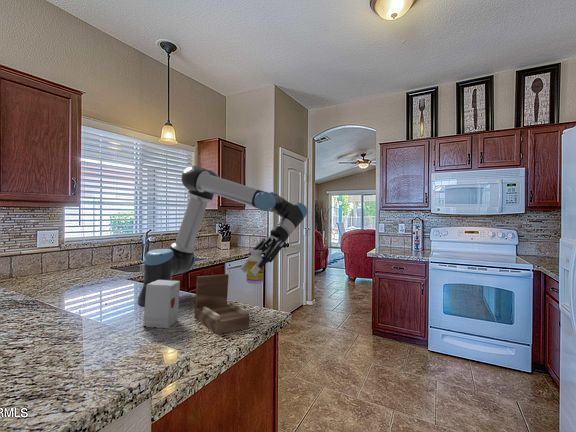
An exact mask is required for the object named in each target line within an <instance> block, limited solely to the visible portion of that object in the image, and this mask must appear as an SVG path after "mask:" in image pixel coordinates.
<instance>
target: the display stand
mask: <svg viewBox="0 0 576 432" xmlns="http://www.w3.org/2000/svg"><path fill="white" fill-rule="evenodd" d="M195 285H196V288H195V301H194V302H195V303H194V316H193V318H194V319H196V320H198V322H200V323H201V324H202V325H204V326H205V327H206V328H208V329H209V330H210V331H211V332H212V333H215V334H216V335H219V334H223V333H227V332H232V331H233V332H234V331H237V330H241V329H247V328H250V320H251V318H250V315H249V310H248V309H247V308H246V309H245V308H244V307H242V306H241V305H238V304H236V303H235V302H229V304H228V293H229V291H228V290H229V274H227V273H226V274H225V273H224V274H214V275H213V274H212V275H201V276H200V275H199V276H198V275H197V276H196V284H195Z"/></svg>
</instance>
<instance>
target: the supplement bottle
mask: <svg viewBox="0 0 576 432" xmlns="http://www.w3.org/2000/svg"><path fill="white" fill-rule="evenodd" d="M249 253H251V256H250V255H249V256H248V257H247V260H248V261H247V260H246V261H247V271H246V277H245V278H246V283H248V284H253V285H259V284H262V283H264V273H265V272H264V271H265V265H264V266H263V267H262V268H261V269H260V271H259V272H258V273H257V274H256V275H255V276H254V275H253V274H252V273H251V271H250V270H251V269H252V268H253V267H254V266H255V264H256V263H257V262H258V261H259V260H260V259H262V257H263V255H262V254H263V253H262V250H253V249H250V252H249Z"/></svg>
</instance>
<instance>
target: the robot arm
mask: <svg viewBox="0 0 576 432" xmlns="http://www.w3.org/2000/svg"><path fill="white" fill-rule="evenodd" d="M181 182H182V185H183V187H184V188H186V189H187V190H188V194H189V196H190V197H189V200H188V204H187V206H186V209H185V213H184V216H183V218H182V221H181V225H180V226H179V229H178V233H177V236H176V240H175V242H173V243H171V245H170V247H169V248H160V249H159V248H157V249H151V250H149V251H147V252H146V253H145V257H144V258H145V259H144V265H143V266H144V267H143V268H144V269H143V283H142V287H141V289H140V292H139V294H138V296H137V297H138V298H137V304H138V305H140V306H142V307H143V306H144V307H145V297H146V285H147V284H149V283H151V282H154V281H157V280H170V281H173V280H172V279H173V277H172V276H175V275H179V274H185V273H187V272H189V271H191V270H192V268H194V265H195V263H196V257H195V249H194V243H195V241H196V239H197V236H198V233H199V229H200V226H201V224H202V220H203V218H204V215H205V212H206V209H207V206H208V203H209V202H211V201H213V198H214V196H219V197H222V198H226V199H228V200H230V201H234V202H237V203H241V204H244V205H247V206H250V207H253V208H255V209H258V210H260V211H261V212H262V211H263V212H271V213H275V214H276V215H278V216H279V217H281V219H280V220H278V222H277V223H276V225H274V227H273V228H272V229H271V230H270V232H269V233H270V236H268V237H267V238H265V237H262V239H261V240H260V241H259V243H257V245H255V246H254V247H253V249H252V250H262V254H263V253H264V252H265V253H264V255H262V259H260V260H259V261H258V262H257V263H256V264H255V266H254V267H253V268H252V269H251V270H250V271H251V273H252V274H253V275H254V276H255V275H256V274H257V273H258V272H259V271H260V269H261V268H262V267H263V266H264V267H265V265H266V264H269V263H272V262H273V261H274V259H275V258H276V257H277V255H278V254H279V253H280V251H281V250H282V249H283V248H284V247H285V246H286V244H285V242H287V240H288V238H290V237H289V236H291V235H292V234H293V232H294V231H295V230H296V229H297V228H298V227H299V225H300V224H301V223H302V222H303V221H304V220H305V218H306V216H307V215H308V213H309V211H308V208H307V206H306V205H305V204H304V203H303V202H299V201H297V202H295V203H291V202H289V201H288V200H287V199H286V198H283V197H282V196H280V195H279V194H277V193H275V192H274V191H270V192H268V191H264V190H260V189H258V188H255V187H251V186H249V185H244V184H241V183H238V182H235V181H233V180H232V181H231V180H229V179H226V178H222V177H220V176H219V175H218V173H216V172H214V171H212V170H209V169H206V168H203V167H200V166H197V165H190V166H188V167H187V168H185V169H184V170H183V172H182V173H181ZM248 255H249V256H251V253H250V252H249V253H248ZM247 261H248V259H246V261H245V262H243V264H242V265H241V266H240V269H241V271H242V272H243V273H247Z"/></svg>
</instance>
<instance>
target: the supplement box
mask: <svg viewBox="0 0 576 432" xmlns="http://www.w3.org/2000/svg"><path fill="white" fill-rule="evenodd" d="M180 286H181V281H180V280H172V281H170V280H157V281H154V282H151V283H149V284H147V285H146V297H145V306H144V312H143V326H146V327H145V328H154V327H156V328H155V329H169V328H170V327H172V325H174V324H176V322H177V321H178V318H179V317H178V316H179V305H180V304H179V303H180V291H181V290H180ZM143 326H142V327H143Z"/></svg>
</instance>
